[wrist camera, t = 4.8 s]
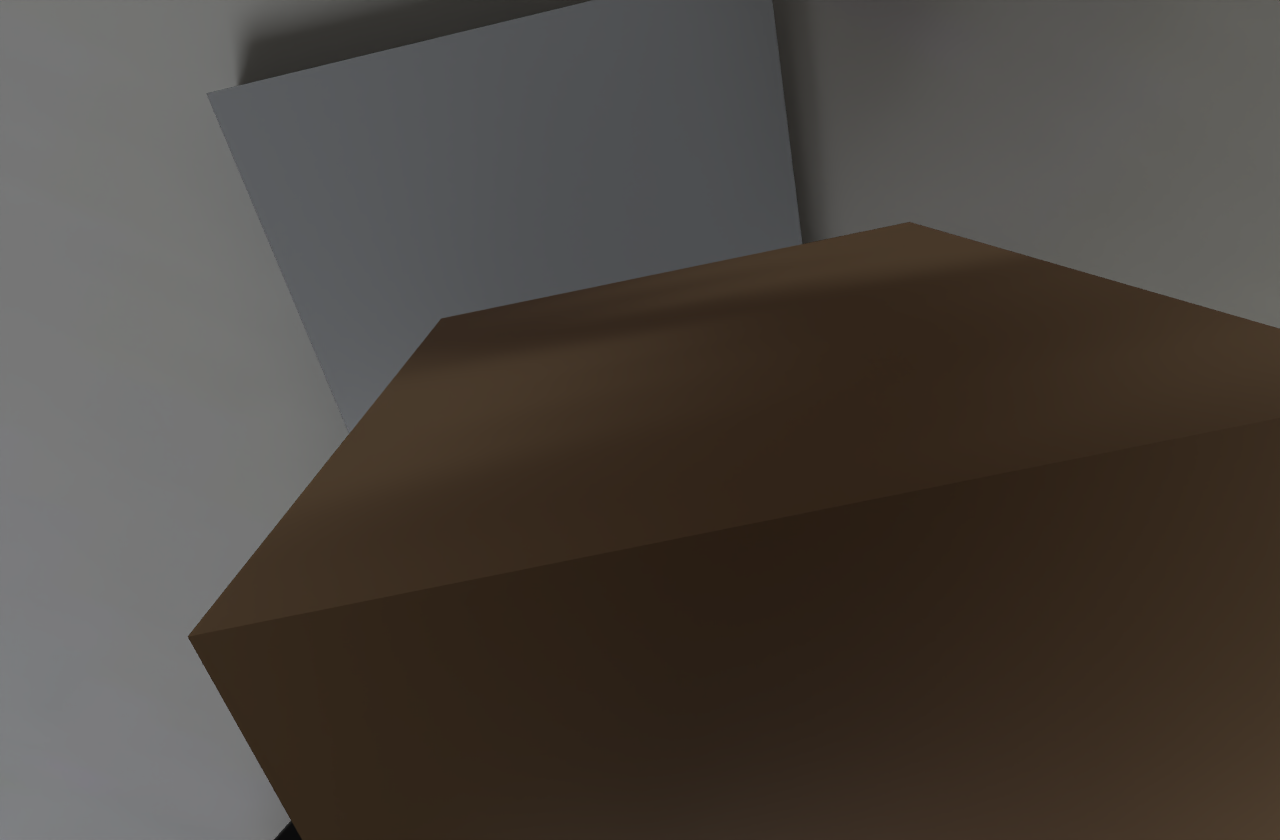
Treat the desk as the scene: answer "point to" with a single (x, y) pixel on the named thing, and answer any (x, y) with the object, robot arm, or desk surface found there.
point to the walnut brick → (786, 566)
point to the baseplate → (513, 169)
